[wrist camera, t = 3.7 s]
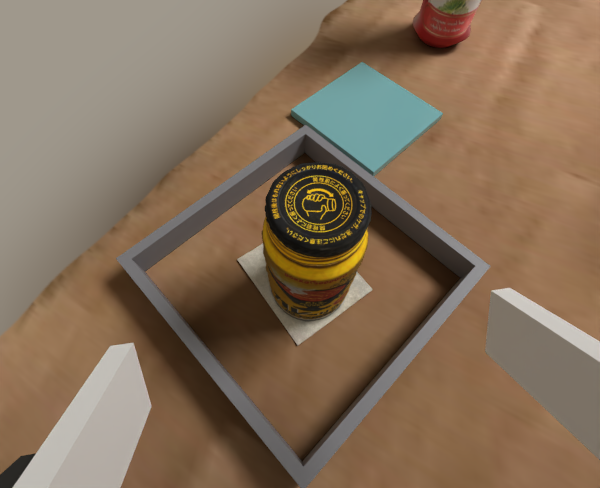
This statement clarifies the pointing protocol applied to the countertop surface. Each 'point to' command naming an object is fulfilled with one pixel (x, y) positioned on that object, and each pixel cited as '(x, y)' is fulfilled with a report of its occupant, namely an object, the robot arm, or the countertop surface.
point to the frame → (382, 201)
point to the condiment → (312, 246)
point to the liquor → (445, 21)
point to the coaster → (367, 117)
